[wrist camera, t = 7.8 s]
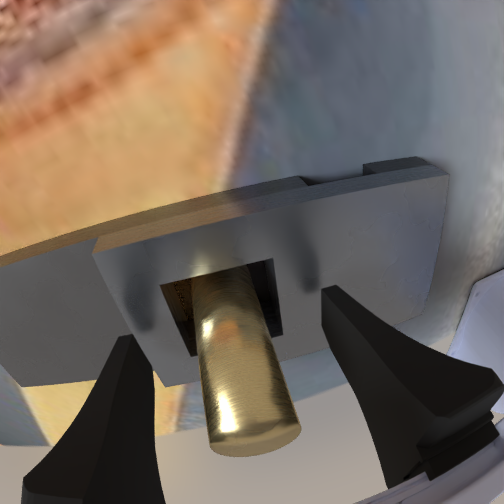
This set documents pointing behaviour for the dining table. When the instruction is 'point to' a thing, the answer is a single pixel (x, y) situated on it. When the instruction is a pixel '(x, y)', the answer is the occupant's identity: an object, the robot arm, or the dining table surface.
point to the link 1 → (84, 296)
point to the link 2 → (285, 258)
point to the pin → (239, 368)
